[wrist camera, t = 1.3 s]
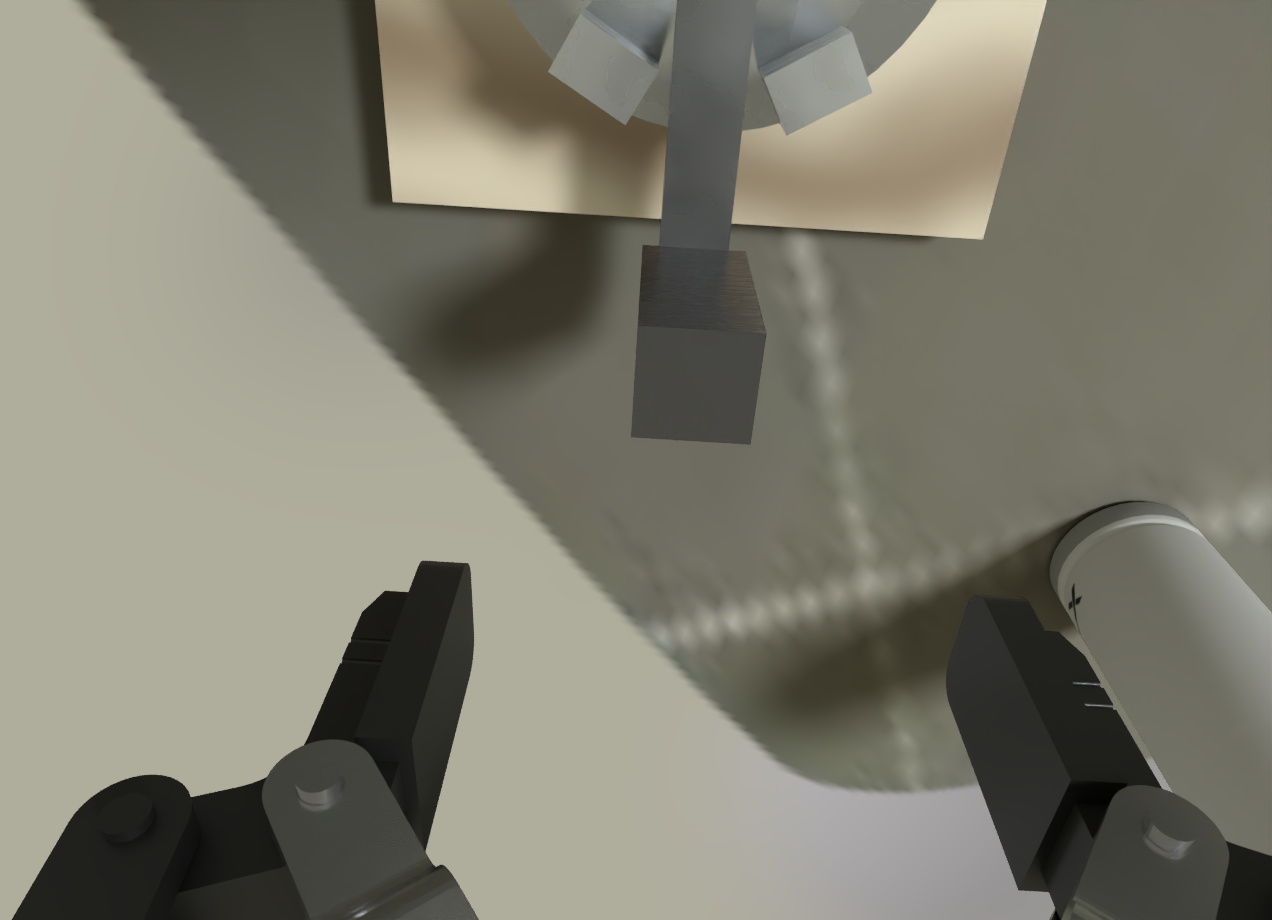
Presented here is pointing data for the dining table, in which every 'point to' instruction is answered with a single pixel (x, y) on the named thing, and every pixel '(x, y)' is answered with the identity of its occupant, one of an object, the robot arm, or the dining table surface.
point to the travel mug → (1179, 656)
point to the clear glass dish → (710, 163)
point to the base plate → (635, 153)
